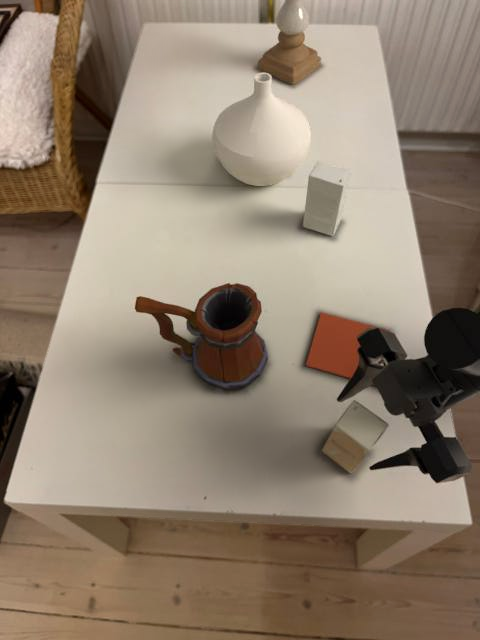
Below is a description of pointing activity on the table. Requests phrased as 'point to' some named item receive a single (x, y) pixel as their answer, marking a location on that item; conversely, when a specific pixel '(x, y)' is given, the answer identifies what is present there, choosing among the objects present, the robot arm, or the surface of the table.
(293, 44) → the candle holder
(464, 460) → the robot arm
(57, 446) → the table surface
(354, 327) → the mat
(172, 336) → the mug
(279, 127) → the vase
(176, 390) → the table surface
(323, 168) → the cosmetic box
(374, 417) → the box
